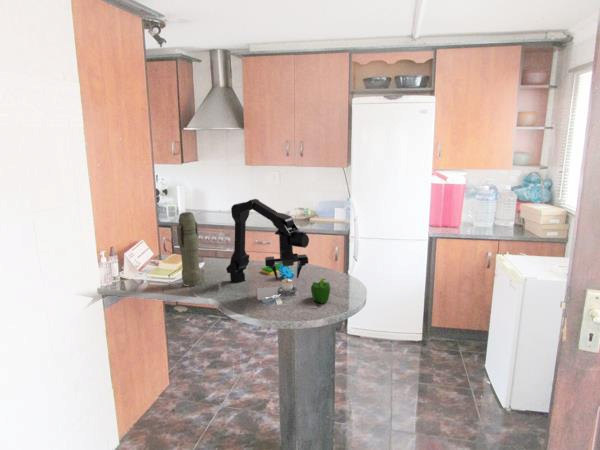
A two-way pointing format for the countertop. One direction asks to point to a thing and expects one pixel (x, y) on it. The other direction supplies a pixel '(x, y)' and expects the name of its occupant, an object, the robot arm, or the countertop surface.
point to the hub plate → (276, 292)
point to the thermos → (189, 249)
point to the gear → (286, 272)
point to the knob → (287, 285)
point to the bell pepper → (320, 291)
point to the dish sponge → (269, 270)
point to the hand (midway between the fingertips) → (287, 278)
